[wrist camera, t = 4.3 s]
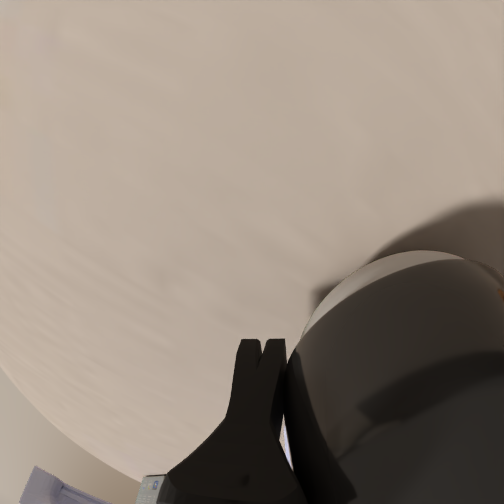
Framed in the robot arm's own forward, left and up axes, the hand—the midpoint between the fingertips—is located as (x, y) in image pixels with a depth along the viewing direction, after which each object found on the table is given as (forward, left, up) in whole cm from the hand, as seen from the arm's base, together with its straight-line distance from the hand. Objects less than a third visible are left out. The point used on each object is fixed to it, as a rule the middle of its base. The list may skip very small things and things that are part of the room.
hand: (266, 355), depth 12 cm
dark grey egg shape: (0, -6, -3) cm, 6 cm away
